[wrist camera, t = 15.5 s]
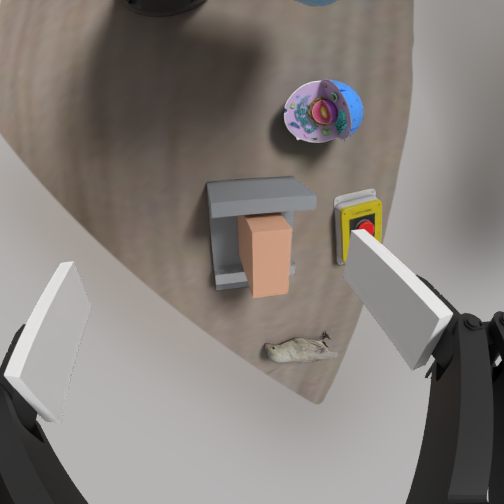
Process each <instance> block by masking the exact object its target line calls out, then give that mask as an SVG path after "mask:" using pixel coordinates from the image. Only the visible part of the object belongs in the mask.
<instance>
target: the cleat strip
mask: <svg viewBox="0 0 504 504" xmlns="http://www.w3.org/2000/svg"><path fill="white" fill-rule="evenodd" d="M214 272H215V280H216V285H220V284H229V283H237V282H245V281H247V278H246V275H245V272H244V269H243V265H233V266H225V267H216V268H214ZM290 275H295V264H294V262H293V261H292V259H290V272H289V276H290Z"/></svg>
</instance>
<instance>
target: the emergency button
mask: <svg viewBox="0 0 504 504" xmlns="http://www.w3.org/2000/svg"><path fill="white" fill-rule="evenodd" d="M334 216H335V232H336V254H337V263H338V264H339V265H341V264H344V263H346V259H347V254H348V248H349V242H350V235H351V230H360V229H365V230H366V231H367V232H368V233H369V234H370V235H372V236H373V237H374V238H375V239H376V240H377V241H378V242H380V243H381V232H382V202H381V201H380V200H378V199H377V198H376V192H375V190H374V189H367V190H363V191H358V192H354V193H350V194H346V195H341V196H338V197H336V198H335V199H334Z"/></svg>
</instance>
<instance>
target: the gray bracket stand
mask: <svg viewBox="0 0 504 504" xmlns="http://www.w3.org/2000/svg"><path fill="white" fill-rule="evenodd" d="M207 195H208V208H209V220H210V232H211V243H212V254H213V264H214V268H216V267H225V266H233V265H242V262H241V259H240V256H239V240H238V215H249V214H261V213H272V212H280V214H281V215H282V216H283V217H284V219H285V220H286V221H287V223H288V224H289V225H290V227H291V228H292V236H293V217H294V211H298V210H312V209H316V203H317V195H316V194H315V193H313V192H312V191H311V190H310V189H308V188H307V187H306V186H305V185H303V184H302V183H301V182H300V181H298V180H297V179H296V178H294V177H293V176H287V177H267V178H250V179H236V180H224V181H212V182H207ZM291 252H292V240H291ZM290 259H291V256H290ZM214 274H215V272H214ZM289 281H290V276H289ZM215 284H216V280H215ZM248 286H249V284H248V281H245V282H237V283H229V284H220V285H216V290H224V289H233V288H240V287H248Z"/></svg>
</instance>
